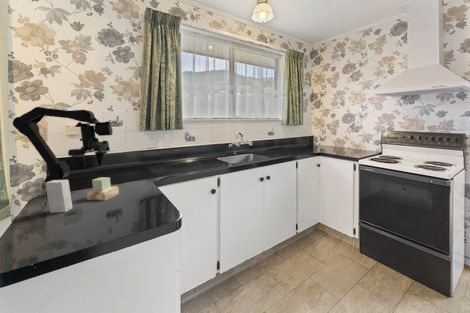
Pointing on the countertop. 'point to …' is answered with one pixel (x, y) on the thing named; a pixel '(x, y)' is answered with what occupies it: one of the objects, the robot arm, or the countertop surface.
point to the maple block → (102, 194)
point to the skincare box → (59, 196)
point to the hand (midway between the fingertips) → (92, 167)
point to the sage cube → (101, 184)
